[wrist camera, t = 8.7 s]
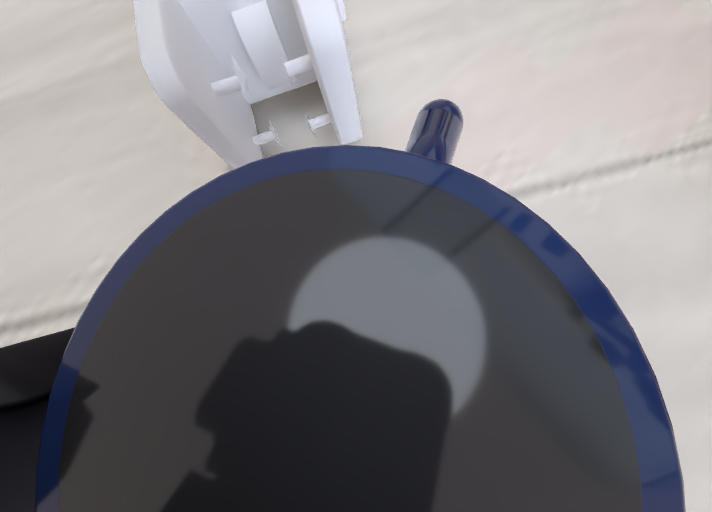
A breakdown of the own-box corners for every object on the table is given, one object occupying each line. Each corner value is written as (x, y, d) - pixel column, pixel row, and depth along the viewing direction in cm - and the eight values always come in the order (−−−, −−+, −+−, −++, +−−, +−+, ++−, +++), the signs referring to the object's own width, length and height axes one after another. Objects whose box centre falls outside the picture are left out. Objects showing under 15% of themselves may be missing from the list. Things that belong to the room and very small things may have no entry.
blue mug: (429, 458, 13) (616, 1220, 2) (285, 394, 14) (-86, 625, 3) (488, 249, 14) (768, 14, 3) (354, 210, 15) (259, -46, 5)
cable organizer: (224, 55, 29) (114, -116, 18) (328, 17, 28) (282, -186, 17) (253, 191, 25) (137, 85, 14) (373, 152, 24) (352, 7, 13)
